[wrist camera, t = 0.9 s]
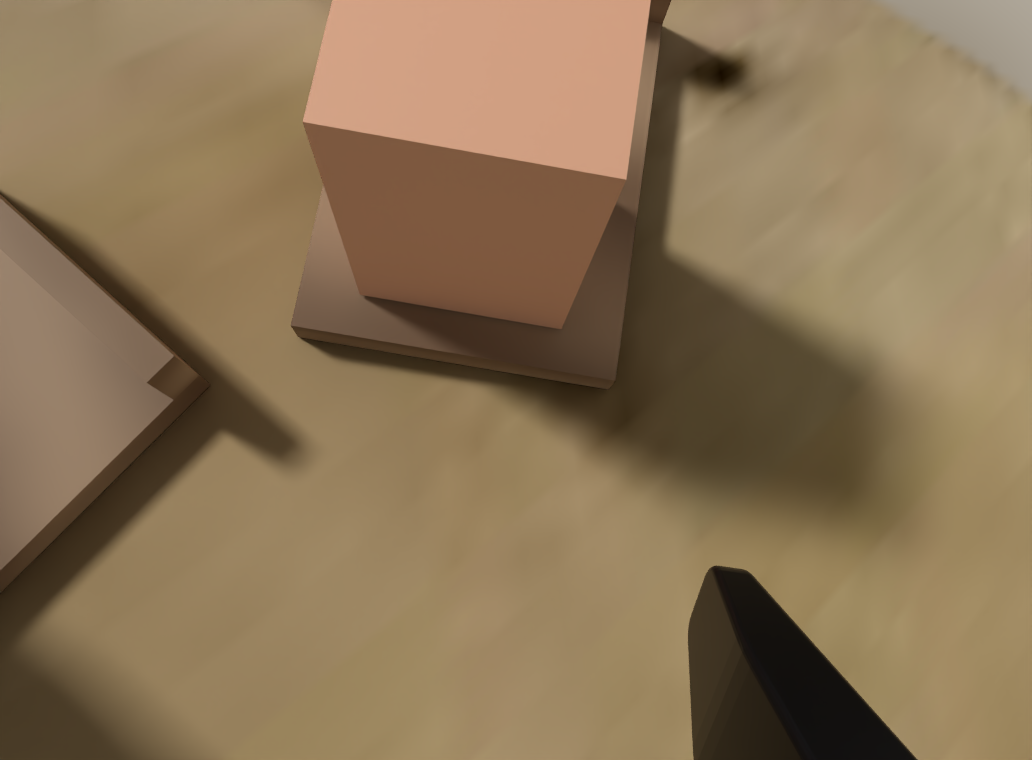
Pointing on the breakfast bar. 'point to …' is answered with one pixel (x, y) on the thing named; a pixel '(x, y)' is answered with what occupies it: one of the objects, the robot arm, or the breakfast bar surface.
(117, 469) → the plinth
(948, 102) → the breakfast bar surface
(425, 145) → the pink box
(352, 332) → the plinth
